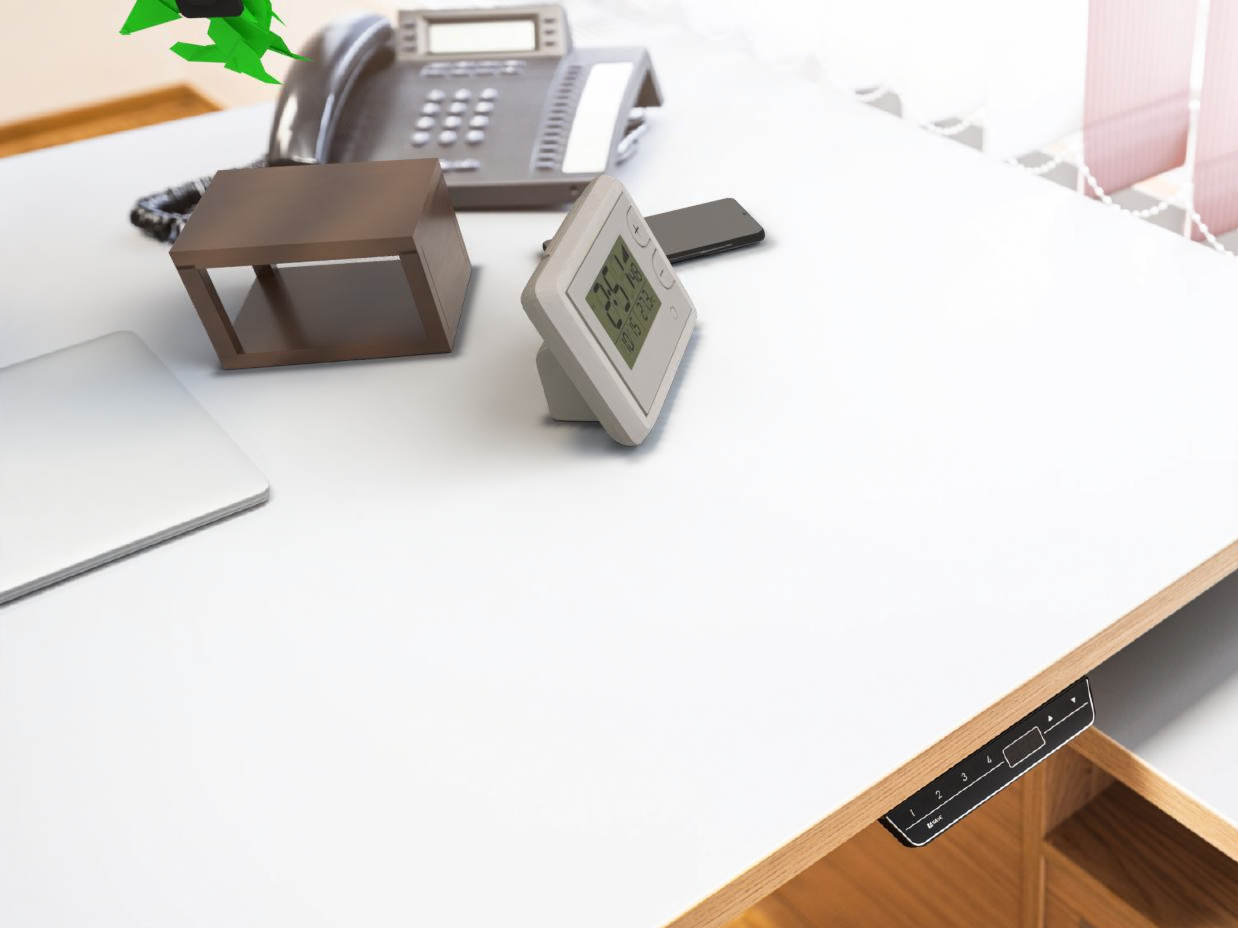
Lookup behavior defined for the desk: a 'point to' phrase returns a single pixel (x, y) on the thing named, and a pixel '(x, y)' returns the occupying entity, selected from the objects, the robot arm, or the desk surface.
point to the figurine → (220, 36)
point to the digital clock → (608, 315)
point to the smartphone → (702, 229)
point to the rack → (335, 293)
